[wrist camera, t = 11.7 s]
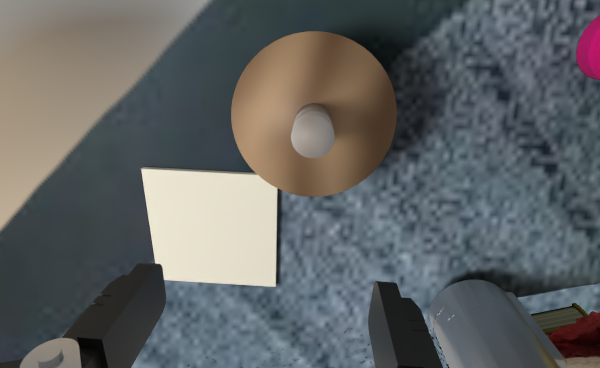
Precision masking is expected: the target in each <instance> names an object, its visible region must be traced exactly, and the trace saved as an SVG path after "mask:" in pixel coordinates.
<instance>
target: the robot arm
mask: <svg viewBox="0 0 600 368" xmlns="http://www.w3.org/2000/svg"><path fill="white" fill-rule="evenodd" d="M165 303H166V293H165V284H164V276H163V268H162V265H161V264H155V263H142V262H140V263H138V264H137V265H136V266H135V267H134V269H133V270H132V271H131V272H130V273H129V275H122V276H120V277H119V278H117V279H116V280H114V281H112V282H111V283H109V284H108V286H107V287H106V288H105V289H104V290H103V291H102V292H101V294H100V296H98V297H97V298H96V299H95V300H94V302H93V303H92V305H90V306H89V307H88V308H87V310H86V311H85V312H84V313H83V314H82V315H81V316H80V318H79V319H78V320H77V321H76V322H75V323H74V324H73V326H72V327H71V328H70V329H69V330H68V331H67V332H66V334H65V335H64V336H63V337H62V338H59V339H54V340H51V341H48V342H46V343H44V344H42V345H40V346H38V347H36V348H35V349H34V350H32V351H31V352H30V353H29V354H28V355H27V356H26V357H25V358H24V359H21V360H16V361H10V362H4V363H0V368H131V366H132V365H133V363H134V361H135V360H136V358H137V356H138V354H139V353H140V351H141V349H142V347H143V346H144V344H145V342H146V341H147V339H148V337H149V335H150V334H151V332H152V330H153V328H154V327H155V325H156V323H157V322H158V320H159V318H160V316H161V315H162V313H163V310H164V307H165ZM429 317H430V321H431V324H432V326H433V329H434V332H435V334H436V336H437V338H438V341H439V343H440V345H441V348H442V351H443V353H444V355H445V358H446V360H447V363H448V365H449V368H567V361H566V360H565V358H564V357H563V356H562V354H561V353H560V352H559V351H558V349H557V348H556V347H555V346H554V344H553V343H552V342H551V341H550V339H549V338H548V337H547V335H546V334H545V333H544V332H543V330H542V329H541V328H540V327H539V325H538V324H537V323H536V321H535V320H534V319H533V318H532V316H531V315H530V314H529V313H528V311H527V310H526V309H525V308H524V306H523V305H522V304H521V302H520V301H519V300H518V299H517V297H516V296H515V295H514V294H513V293H512V292H505V291H503V290H502V289H500V288H499V287H498V286H497V285H495V284H493V283H491V282H488V281H484V280H464V281H461V282H457V283H454V284H452V285H450V286H448V287H446V288H445V289H443V290H442V291H441V292H440V293H439V294H438V295H437V296H436V297H435V298H434V300H433V301H432V303H431V306H430V310H429ZM368 326H369V334H370V340H371V345H372V351H373V356H374V362H375V367H376V368H443V366H442V364H441V361H440V359H439V356H438V353H437V351H436V348H435V346H434V343H433V341H432V338H431V335H430V334H429V330H428V328H427V325H426V323H425V320H424V317H423V315H422V312H421V310H420V308H419V307H418V306H417V305H416V304H415V303H414V302H413V300H412V299H411V298H401V295H400V292H399V289H398V286H397V284H396V283H392V282H379V281H375V283H374V287H373V293H372V298H371V304H370V310H369V318H368Z"/></svg>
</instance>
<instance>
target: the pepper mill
mask: <svg viewBox="0 0 600 368" xmlns="http://www.w3.org/2000/svg"><path fill="white" fill-rule="evenodd" d="M577 62H578V65H579V67H580V69H581V70H582V72H583V73H584V74H585V75H587V76H588V77H590V78H593V79H597V80H600V15H599V16H598V17H597V18H596V19H595V20H593V21H592V22H591V23H590V25H589V26H588V27H587V28H586V30H585V31H584V32H583V34H582V36H581V38H580V40H579V44H578V48H577Z"/></svg>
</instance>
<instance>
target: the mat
mask: <svg viewBox="0 0 600 368" xmlns="http://www.w3.org/2000/svg"><path fill="white" fill-rule="evenodd" d="M141 171H142V177H143V184H144V190H145V197H146V204H147V210H148V217H149V224H150V230H151V237H152V243H153V250H154V257H155V263H156V264H161V265H162V268H163V276H164V280H174V281H190V282H207V283H223V284H239V285H256V286H272V287H276V260H277V198H278V188H276V187H274V186H272V185H271V184H269V183H268V182H266V181H265V180H263V179H262V178H261V177H260V176H259V175H257V174H256V173H249V172H230V171H211V170H193V169H174V168H155V167H143V168H142V169H141Z"/></svg>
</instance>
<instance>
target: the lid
mask: <svg viewBox="0 0 600 368" xmlns="http://www.w3.org/2000/svg"><path fill="white" fill-rule="evenodd" d="M231 120H232V129H233V133H234V137H235V140H236V143H237V146H238V148H239V150H240V152H241V154H242V156H243V158H244V159H245V161H246V162H247V163H248V165H249V166H250V167H251V168H252V169H253V171H254V172H255V173H256V174H257V175H259V176H260V177H261V178H262V179H263V180H265V181H266V182H268V183H269V184H271V185H272V186H274V187H276V188H278V189H280V190H282V191H285V192H288V193H291V194H295V195H300V196H309V197H318V196H327V195H332V194H336V193H339V192H342V191H345V190H347V189H349V188H351V187H353V186H355V185H357V184H358V183H360V182H361V181H363V180H364V179H366V178H367V177H368V176H369V175H370V174H371V173H372V172H373V171H374V170H375V169H376V168H377V167H378V166H379V164H380V163H381V162H382V160H383V159H384V157H385V156H386V154H387V152H388V150H389V148H390V146H391V143H392V140H393V137H394V134H395V129H396V122H397V103H396V98H395V93H394V90H393V87H392V84H391V81H390V79H389V77H388V75H387V73H386V71H385V70H384V68H383V67H382V65H381V64H380V63H379V61H378V60H377V59H376V58H375V57H374V56H373V55H372V54H371V53H370V52H369V51H367V50H366V49H365V48H364V47H363V46H361V45H359V44H358V43H356V42H354V41H353V40H351V39H348V38H346V37H343V36H341V35H337V34H333V33H329V32H320V31H312V32H302V33H296V34H292V35H289V36H286V37H283V38H281V39H279V40H277V41H275V42H273V43H271V44H270V45H268V46H267V47H266V48H264V49H263V50H262V51H261V52H259V53H258V54H257V55H256V56H255V57H254V58H253V59H252V61H251V62H250V63H249V64H248V65H247V67H246V68H245V70H244V72H243V73H242V75H241V77H240V79H239V81H238V83H237V86H236V89H235V92H234V96H233V101H232V110H231Z"/></svg>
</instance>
